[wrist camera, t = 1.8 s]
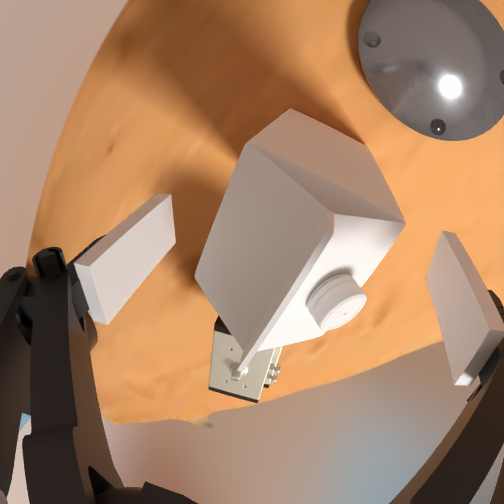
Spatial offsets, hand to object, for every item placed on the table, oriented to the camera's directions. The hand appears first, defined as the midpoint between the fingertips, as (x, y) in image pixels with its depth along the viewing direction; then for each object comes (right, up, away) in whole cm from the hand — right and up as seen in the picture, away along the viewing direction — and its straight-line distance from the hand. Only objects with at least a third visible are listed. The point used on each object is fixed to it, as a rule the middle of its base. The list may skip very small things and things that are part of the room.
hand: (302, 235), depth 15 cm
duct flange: (+13, +15, +4) cm, 20 cm away
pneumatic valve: (-1, -5, +19) cm, 20 cm away
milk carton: (+3, +7, +12) cm, 14 cm away
